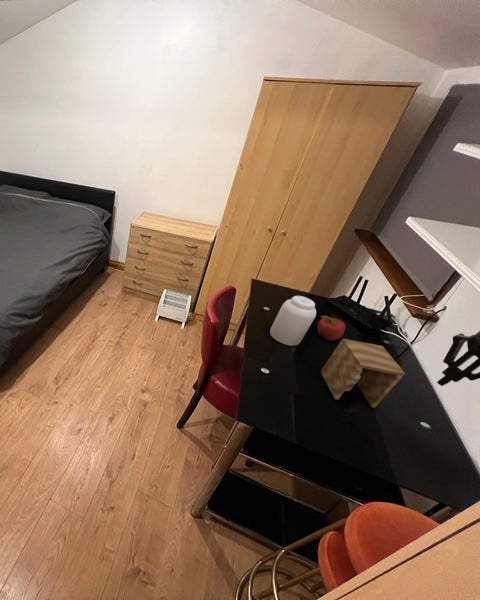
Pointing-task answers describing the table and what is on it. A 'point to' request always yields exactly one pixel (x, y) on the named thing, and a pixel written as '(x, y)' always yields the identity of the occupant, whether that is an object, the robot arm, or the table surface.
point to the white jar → (293, 320)
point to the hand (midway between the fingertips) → (442, 382)
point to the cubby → (375, 370)
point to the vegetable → (330, 328)
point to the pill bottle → (354, 381)
